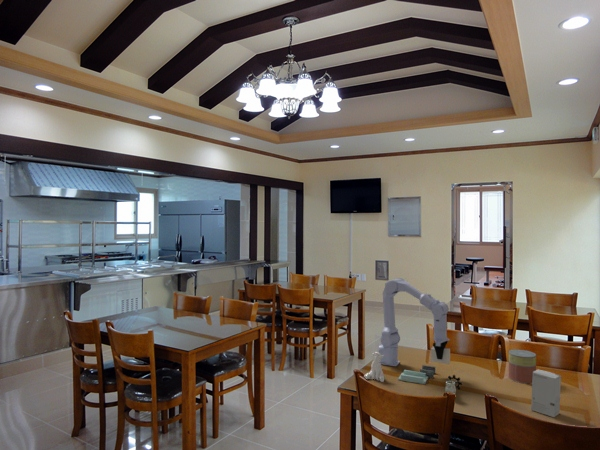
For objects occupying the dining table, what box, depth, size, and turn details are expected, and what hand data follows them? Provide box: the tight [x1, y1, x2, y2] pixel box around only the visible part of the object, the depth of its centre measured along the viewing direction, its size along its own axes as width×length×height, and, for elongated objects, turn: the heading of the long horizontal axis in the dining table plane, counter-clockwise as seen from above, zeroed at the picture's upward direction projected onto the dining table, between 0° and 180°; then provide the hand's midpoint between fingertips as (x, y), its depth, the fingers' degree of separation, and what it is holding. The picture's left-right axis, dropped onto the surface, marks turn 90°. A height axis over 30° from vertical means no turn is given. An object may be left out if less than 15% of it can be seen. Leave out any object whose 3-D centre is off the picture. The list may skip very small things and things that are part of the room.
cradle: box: [397, 369, 429, 385], centre depth 190 cm, size 12×8×2 cm, turn 63°
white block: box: [430, 346, 451, 365], centre depth 193 cm, size 8×4×6 cm, turn 63°
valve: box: [444, 374, 463, 394], centre depth 172 cm, size 7×7×12 cm
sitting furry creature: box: [363, 351, 385, 383], centre depth 192 cm, size 10×9×12 cm
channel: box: [419, 364, 437, 379], centre depth 196 cm, size 6×7×3 cm
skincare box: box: [530, 368, 562, 418], centre depth 156 cm, size 8×6×15 cm
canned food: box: [508, 349, 537, 385], centre depth 189 cm, size 11×11×12 cm
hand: (440, 357), depth 193 cm, fingers closed on white block, 4 cm apart
